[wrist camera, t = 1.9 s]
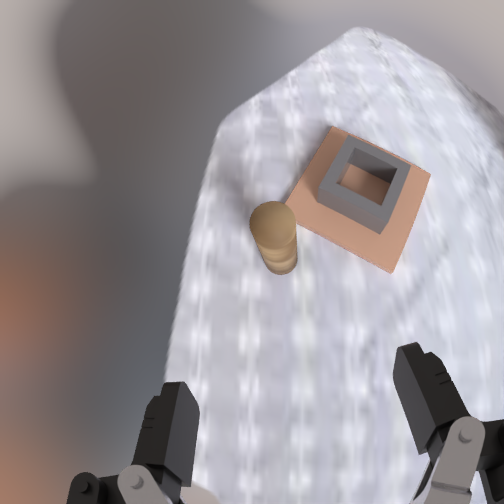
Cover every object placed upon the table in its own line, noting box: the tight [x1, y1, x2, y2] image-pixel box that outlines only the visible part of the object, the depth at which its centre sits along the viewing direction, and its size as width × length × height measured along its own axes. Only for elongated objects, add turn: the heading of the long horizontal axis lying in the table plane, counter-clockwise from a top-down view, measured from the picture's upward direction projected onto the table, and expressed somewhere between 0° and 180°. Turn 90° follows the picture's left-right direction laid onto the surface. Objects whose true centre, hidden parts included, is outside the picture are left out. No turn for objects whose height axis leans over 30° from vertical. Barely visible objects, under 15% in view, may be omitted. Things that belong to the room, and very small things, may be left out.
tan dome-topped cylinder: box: [250, 201, 297, 275], centre depth 32 cm, size 4×4×12 cm
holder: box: [285, 126, 431, 274], centre depth 36 cm, size 16×16×5 cm
